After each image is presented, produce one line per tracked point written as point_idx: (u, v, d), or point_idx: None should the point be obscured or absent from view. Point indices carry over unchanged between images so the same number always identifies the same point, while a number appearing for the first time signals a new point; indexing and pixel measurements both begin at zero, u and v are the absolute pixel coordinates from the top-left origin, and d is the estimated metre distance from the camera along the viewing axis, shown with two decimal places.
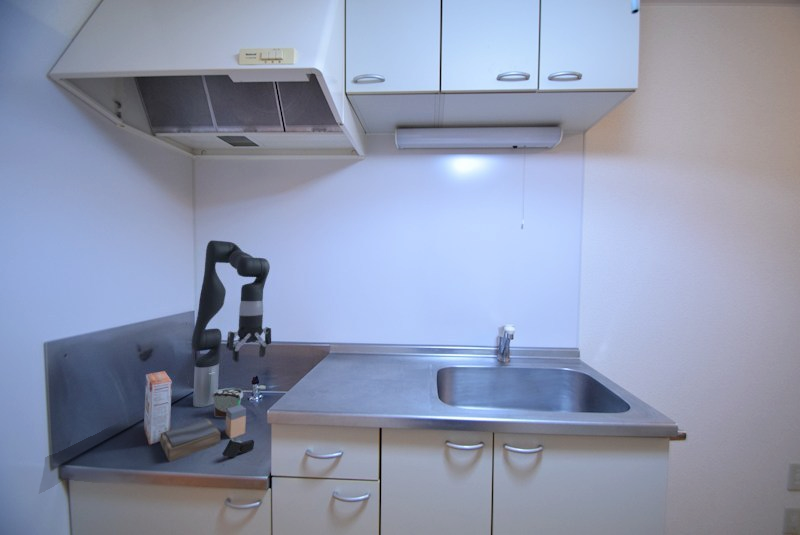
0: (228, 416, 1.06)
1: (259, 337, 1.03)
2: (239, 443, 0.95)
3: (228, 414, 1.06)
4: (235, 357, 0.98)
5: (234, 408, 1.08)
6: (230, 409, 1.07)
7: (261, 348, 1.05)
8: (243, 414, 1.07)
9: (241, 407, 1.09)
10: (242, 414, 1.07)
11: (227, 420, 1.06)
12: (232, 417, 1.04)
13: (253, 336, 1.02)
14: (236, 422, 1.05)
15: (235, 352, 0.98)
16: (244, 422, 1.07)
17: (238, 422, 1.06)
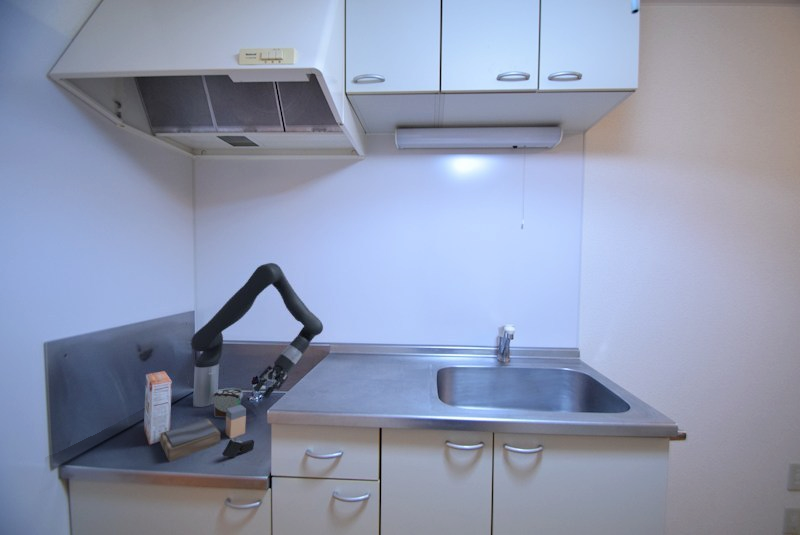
0: (228, 416, 1.06)
1: None
2: (239, 443, 0.95)
3: (228, 414, 1.06)
4: (269, 394, 1.12)
5: (234, 408, 1.08)
6: (230, 409, 1.07)
7: (262, 384, 1.19)
8: (243, 414, 1.07)
9: (241, 407, 1.09)
10: (242, 414, 1.07)
11: (227, 420, 1.06)
12: (232, 417, 1.04)
13: None
14: (236, 422, 1.05)
15: None
16: (244, 422, 1.07)
17: (238, 422, 1.06)
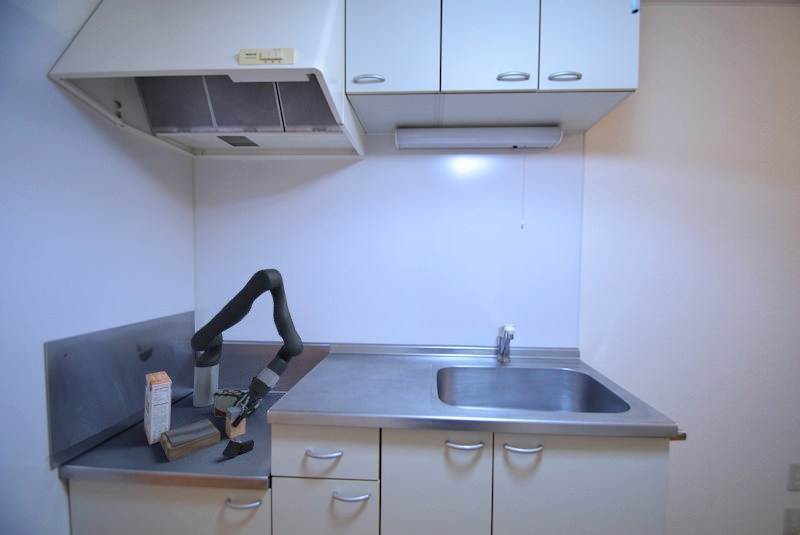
0: (228, 415, 1.06)
1: None
2: (239, 443, 0.95)
3: (228, 414, 1.06)
4: (238, 423, 1.05)
5: (234, 408, 1.08)
6: (230, 409, 1.07)
7: None
8: None
9: (241, 407, 1.09)
10: None
11: (227, 420, 1.06)
12: (232, 417, 1.04)
13: None
14: None
15: None
16: (244, 422, 1.07)
17: None
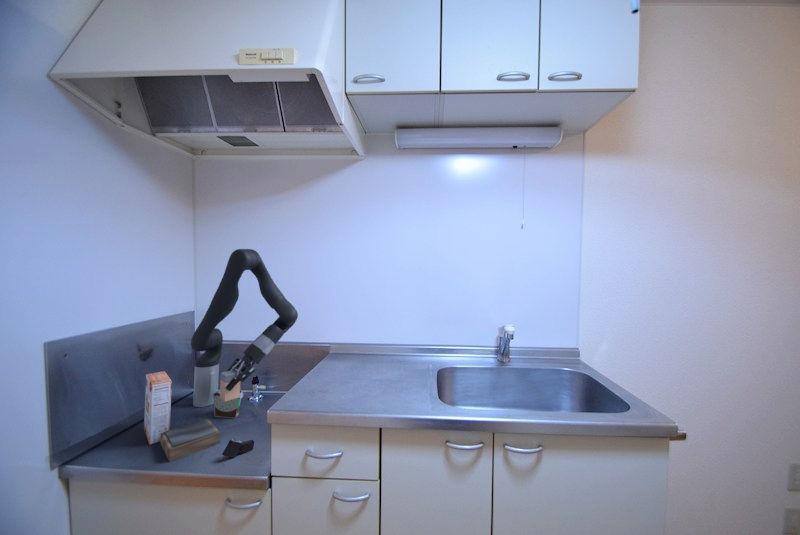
0: (223, 379, 1.05)
1: None
2: (239, 443, 0.95)
3: (222, 378, 1.05)
4: None
5: (228, 372, 1.07)
6: (224, 373, 1.06)
7: None
8: None
9: (236, 371, 1.08)
10: None
11: (221, 384, 1.06)
12: (226, 380, 1.04)
13: None
14: None
15: None
16: (239, 386, 1.07)
17: None
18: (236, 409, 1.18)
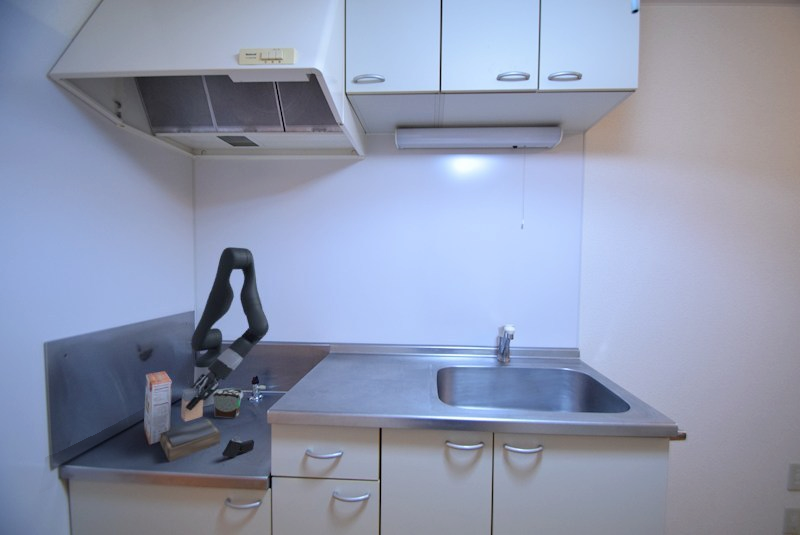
0: (183, 397, 0.99)
1: None
2: (239, 443, 0.95)
3: (183, 396, 0.99)
4: (194, 405, 0.98)
5: (190, 390, 1.01)
6: (186, 391, 1.00)
7: None
8: None
9: (198, 389, 1.02)
10: None
11: (182, 402, 0.99)
12: (187, 398, 0.97)
13: None
14: None
15: None
16: (201, 404, 1.00)
17: None
18: (236, 409, 1.18)
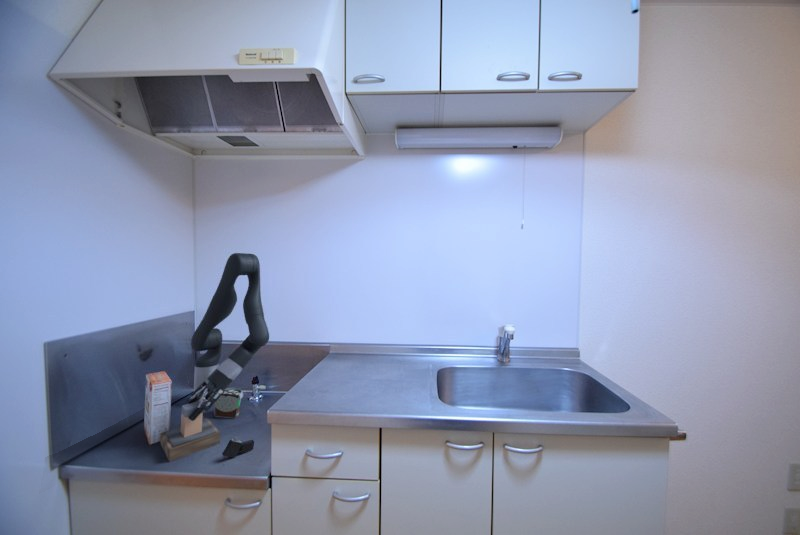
0: (183, 413, 0.99)
1: None
2: (239, 443, 0.95)
3: (183, 411, 0.99)
4: None
5: (190, 405, 1.01)
6: (185, 406, 1.00)
7: None
8: None
9: (198, 404, 1.02)
10: None
11: (182, 417, 0.99)
12: (186, 414, 0.97)
13: None
14: (191, 420, 0.98)
15: None
16: (201, 420, 1.00)
17: None
18: (236, 409, 1.18)
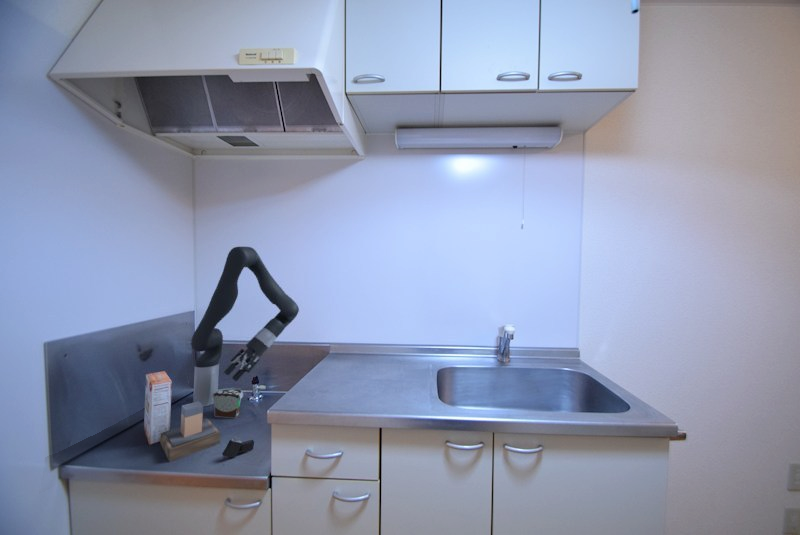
0: (183, 413, 0.99)
1: None
2: (239, 443, 0.95)
3: (183, 411, 0.99)
4: (239, 377, 1.08)
5: (190, 405, 1.01)
6: (185, 406, 1.00)
7: (233, 367, 1.14)
8: (199, 411, 1.00)
9: (198, 404, 1.02)
10: (199, 411, 1.00)
11: (182, 417, 0.99)
12: (186, 414, 0.97)
13: None
14: (191, 420, 0.98)
15: None
16: (201, 420, 1.00)
17: (193, 420, 0.99)
18: (236, 409, 1.18)
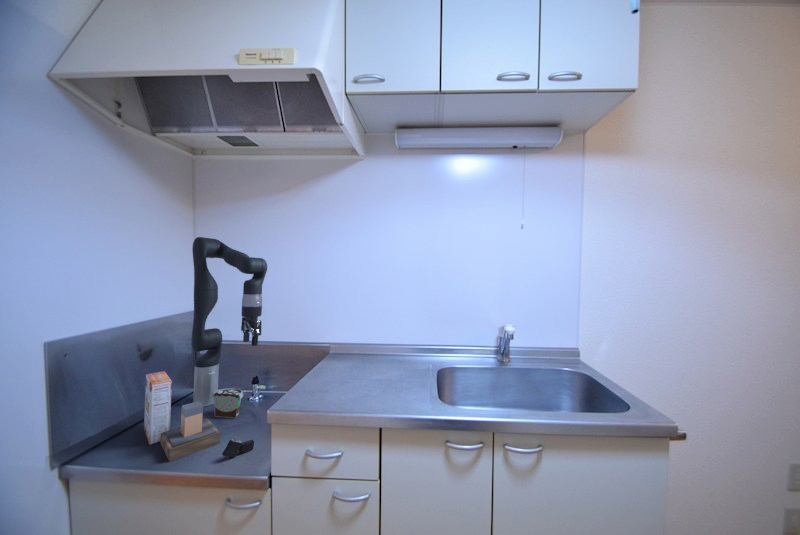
0: (183, 413, 0.99)
1: None
2: (239, 443, 0.94)
3: (183, 411, 0.99)
4: None
5: (190, 405, 1.01)
6: (185, 406, 1.00)
7: (247, 334, 1.24)
8: (199, 411, 1.00)
9: (198, 404, 1.02)
10: (199, 411, 1.00)
11: (182, 417, 0.99)
12: (186, 414, 0.97)
13: None
14: (191, 420, 0.98)
15: None
16: (201, 420, 1.00)
17: (193, 420, 0.99)
18: (236, 409, 1.18)
